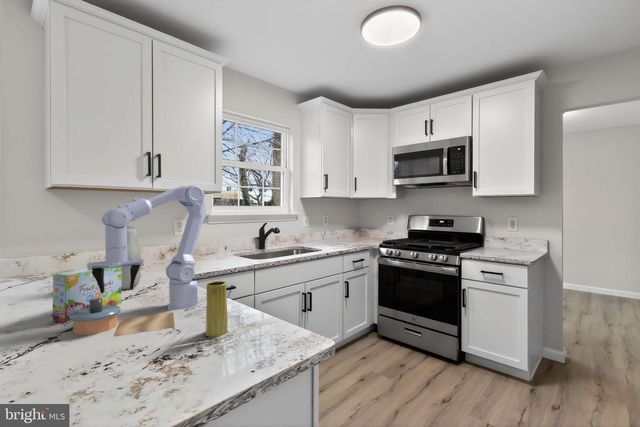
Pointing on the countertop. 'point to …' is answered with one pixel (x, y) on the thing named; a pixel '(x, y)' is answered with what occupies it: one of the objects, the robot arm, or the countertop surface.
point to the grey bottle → (131, 258)
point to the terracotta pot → (94, 326)
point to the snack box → (83, 291)
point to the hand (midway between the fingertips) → (117, 290)
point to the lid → (95, 311)
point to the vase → (216, 309)
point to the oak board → (145, 324)
